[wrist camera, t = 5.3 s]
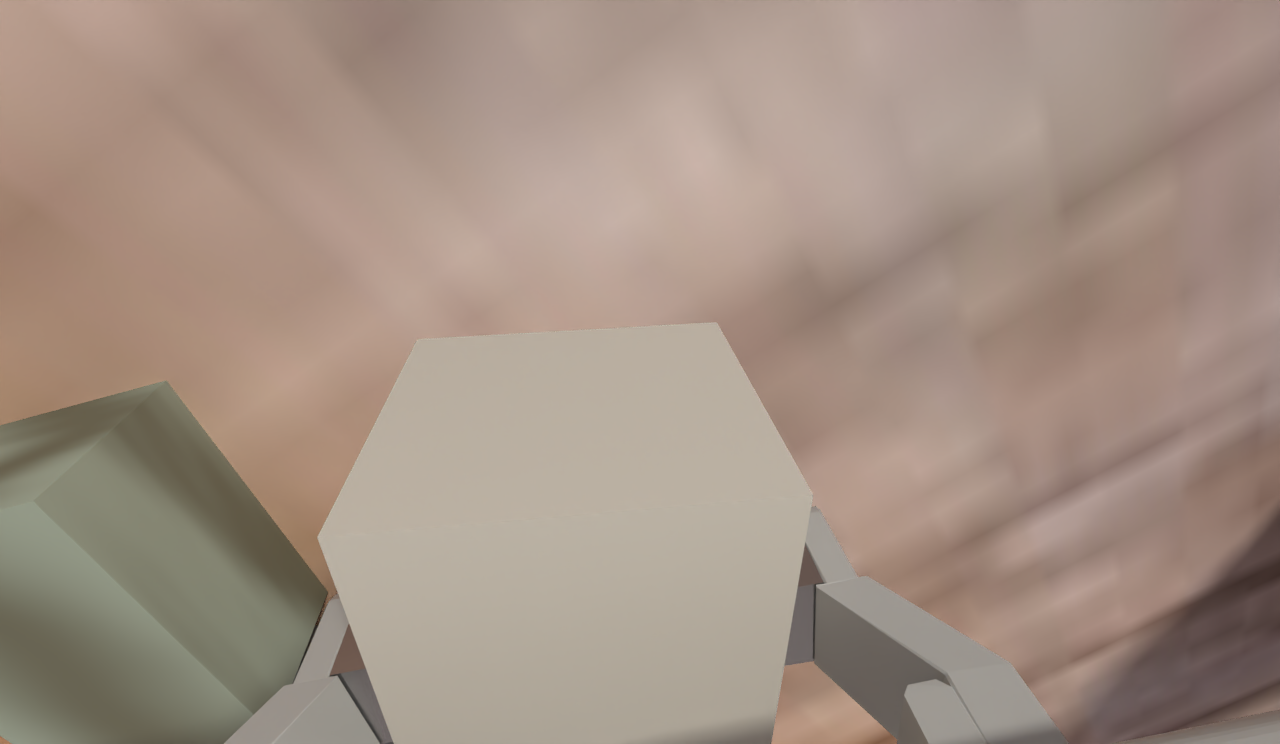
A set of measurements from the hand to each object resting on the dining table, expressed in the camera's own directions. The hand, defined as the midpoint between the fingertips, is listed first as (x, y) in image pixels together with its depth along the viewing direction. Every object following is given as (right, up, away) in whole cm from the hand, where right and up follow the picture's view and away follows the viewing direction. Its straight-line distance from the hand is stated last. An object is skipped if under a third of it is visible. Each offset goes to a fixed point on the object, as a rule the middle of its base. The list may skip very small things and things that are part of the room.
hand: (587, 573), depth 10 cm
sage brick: (-12, -1, +6) cm, 14 cm away
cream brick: (0, +1, +1) cm, 2 cm away
